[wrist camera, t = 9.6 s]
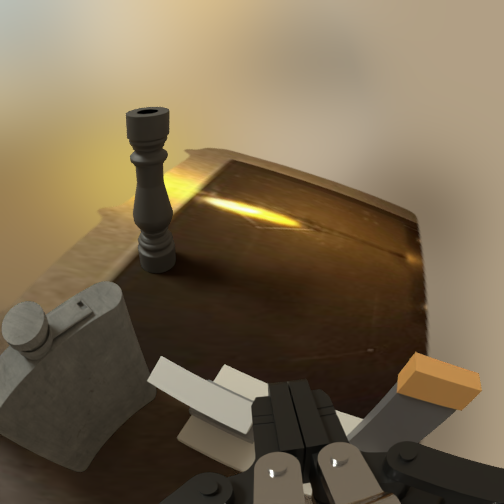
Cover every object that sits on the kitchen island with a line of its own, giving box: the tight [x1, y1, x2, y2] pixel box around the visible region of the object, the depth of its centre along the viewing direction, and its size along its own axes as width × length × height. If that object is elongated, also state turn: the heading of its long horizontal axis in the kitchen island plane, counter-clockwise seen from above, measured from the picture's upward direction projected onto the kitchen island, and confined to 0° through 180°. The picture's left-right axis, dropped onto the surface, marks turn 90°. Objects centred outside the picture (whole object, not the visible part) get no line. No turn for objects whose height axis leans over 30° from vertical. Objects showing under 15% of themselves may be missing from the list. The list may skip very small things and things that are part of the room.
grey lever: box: [147, 356, 253, 434], centre depth 22 cm, size 2×6×16 cm, turn 65°
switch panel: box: [177, 364, 363, 497], centre depth 27 cm, size 11×23×3 cm, turn 65°
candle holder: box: [126, 107, 176, 273], centre depth 41 cm, size 6×6×25 cm
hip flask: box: [0, 282, 156, 472], centre depth 20 cm, size 16×4×20 cm, turn 149°
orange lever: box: [347, 352, 482, 452], centre depth 20 cm, size 2×6×16 cm, turn 64°
